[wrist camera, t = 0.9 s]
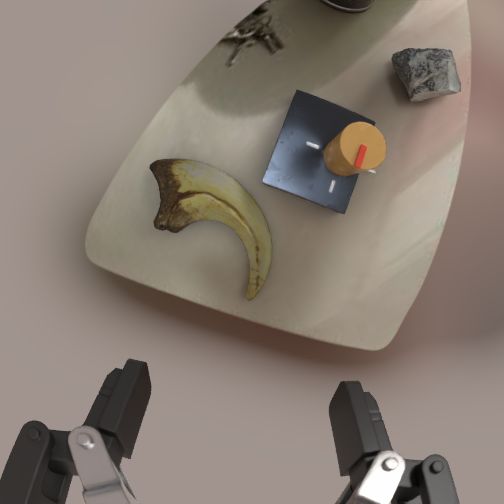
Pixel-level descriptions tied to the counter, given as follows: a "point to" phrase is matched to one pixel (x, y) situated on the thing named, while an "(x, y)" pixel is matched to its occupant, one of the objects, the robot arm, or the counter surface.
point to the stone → (427, 72)
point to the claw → (213, 209)
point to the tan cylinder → (355, 150)
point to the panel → (312, 152)
